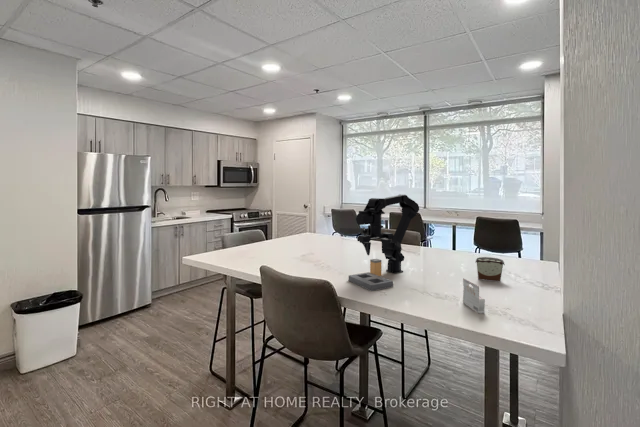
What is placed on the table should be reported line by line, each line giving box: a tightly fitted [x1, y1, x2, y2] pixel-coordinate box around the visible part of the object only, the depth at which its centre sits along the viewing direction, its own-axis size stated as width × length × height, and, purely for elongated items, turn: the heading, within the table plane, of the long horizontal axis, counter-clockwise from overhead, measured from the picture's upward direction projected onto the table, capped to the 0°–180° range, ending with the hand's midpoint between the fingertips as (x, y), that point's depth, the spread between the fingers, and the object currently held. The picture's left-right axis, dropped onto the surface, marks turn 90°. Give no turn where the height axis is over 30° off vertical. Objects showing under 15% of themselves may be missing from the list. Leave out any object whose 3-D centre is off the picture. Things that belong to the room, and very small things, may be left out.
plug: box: [369, 258, 383, 277], centre depth 166 cm, size 4×4×8 cm
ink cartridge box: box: [462, 278, 486, 314], centre depth 121 cm, size 2×11×10 cm, turn 5°
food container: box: [475, 256, 505, 283], centre depth 158 cm, size 12×6×10 cm, turn 65°
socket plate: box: [348, 271, 394, 292], centre depth 152 cm, size 12×18×2 cm, turn 28°
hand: (375, 254), depth 166 cm, fingers open, 9 cm apart
